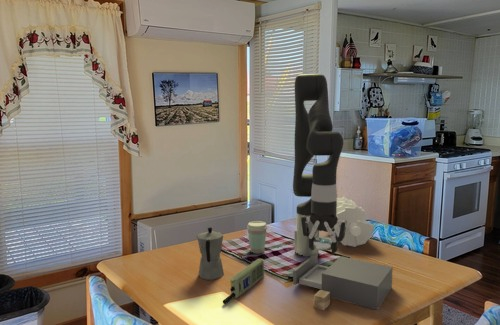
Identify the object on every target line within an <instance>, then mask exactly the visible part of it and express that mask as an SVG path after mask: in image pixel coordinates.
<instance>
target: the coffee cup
mask: <svg viewBox="0 0 500 325" xmlns="http://www.w3.org/2000/svg"><path fill="white" fill-rule="evenodd" d="M246 229H247V234H248V242H249V250H250V253H252V252H253V254H263V253H264V252H265V250H266V249H265V248H266V238H267V230H268V225H267V223H266V222H265V221H262V220H261V221H260V220H256V221H255V220H253V221H249V222H248V224H247V225H246Z"/></svg>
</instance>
